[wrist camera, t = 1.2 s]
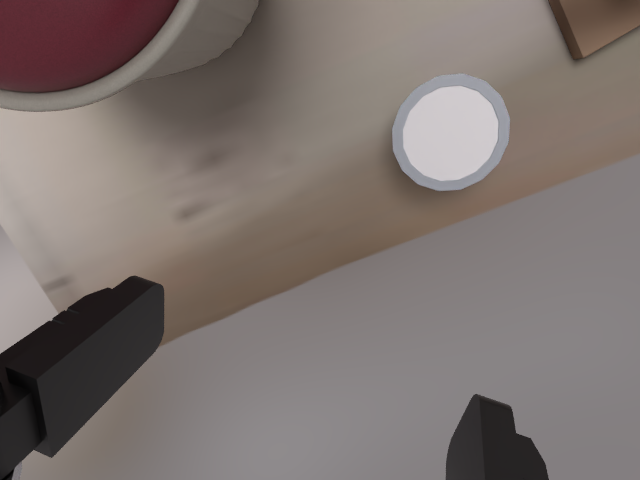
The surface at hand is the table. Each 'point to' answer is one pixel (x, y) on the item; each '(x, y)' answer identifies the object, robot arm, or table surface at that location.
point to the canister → (106, 45)
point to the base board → (594, 22)
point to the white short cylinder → (450, 132)
